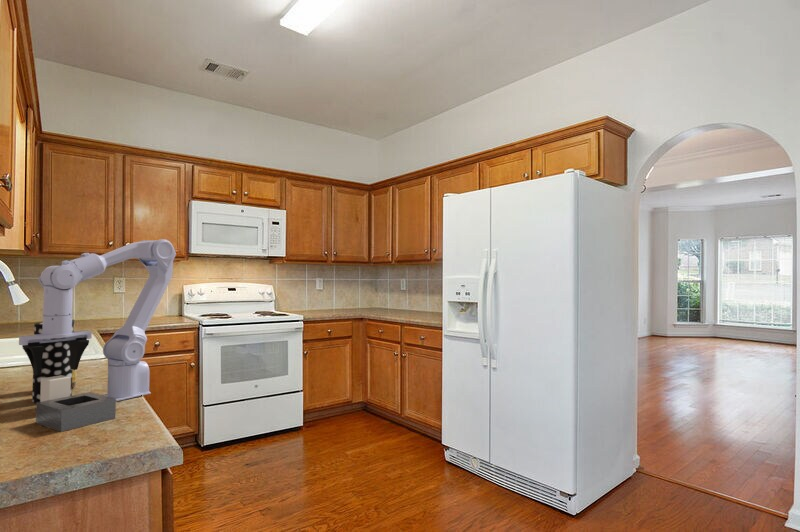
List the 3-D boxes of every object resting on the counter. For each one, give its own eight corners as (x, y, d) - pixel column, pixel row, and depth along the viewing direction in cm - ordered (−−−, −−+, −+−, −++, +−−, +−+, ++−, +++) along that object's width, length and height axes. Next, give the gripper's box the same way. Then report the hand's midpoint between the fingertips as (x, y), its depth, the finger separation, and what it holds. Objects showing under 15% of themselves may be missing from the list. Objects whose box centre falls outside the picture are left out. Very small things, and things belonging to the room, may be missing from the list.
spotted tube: (66, 393, 127) (68, 320, 128) (76, 398, 122) (78, 322, 123) (28, 399, 121) (30, 322, 122) (37, 405, 116) (39, 325, 116)
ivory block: (60, 407, 114) (61, 375, 114) (70, 410, 112) (70, 377, 112) (39, 412, 110) (40, 378, 110) (48, 415, 108) (49, 380, 108)
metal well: (89, 410, 112) (90, 392, 112) (115, 418, 106) (115, 398, 106) (36, 423, 102) (36, 402, 102) (61, 431, 97) (61, 410, 97)
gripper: (81, 312, 120) (80, 365, 119) (13, 316, 107) (11, 375, 107) (96, 313, 116) (95, 368, 116) (27, 318, 104) (25, 379, 103)
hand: (56, 371), depth 111 cm, fingers open, 7 cm apart
